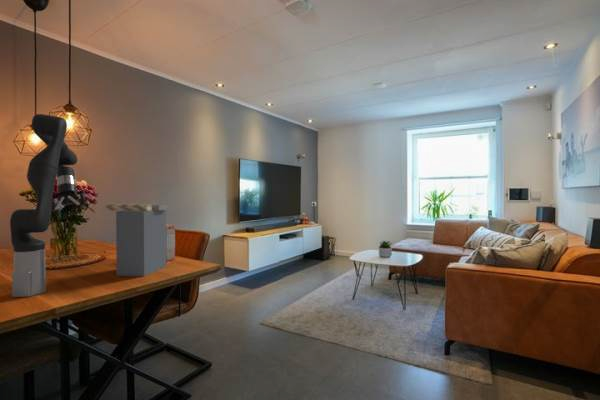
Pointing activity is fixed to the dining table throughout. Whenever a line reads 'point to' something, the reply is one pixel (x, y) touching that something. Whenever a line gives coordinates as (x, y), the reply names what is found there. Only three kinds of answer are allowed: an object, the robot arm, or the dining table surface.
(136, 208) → the striped beige bar
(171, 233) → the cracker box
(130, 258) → the chute stand
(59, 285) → the dining table surface
